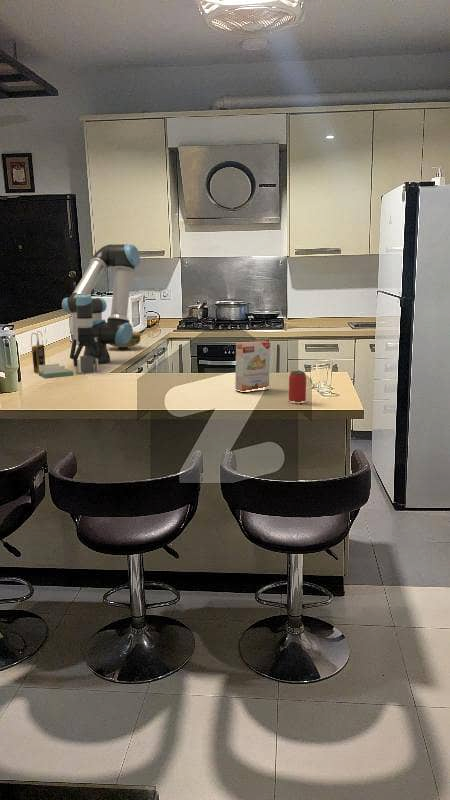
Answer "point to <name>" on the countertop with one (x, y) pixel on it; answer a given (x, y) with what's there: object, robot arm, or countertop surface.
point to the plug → (87, 364)
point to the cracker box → (252, 365)
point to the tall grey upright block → (75, 328)
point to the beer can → (297, 386)
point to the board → (53, 371)
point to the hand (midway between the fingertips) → (87, 371)
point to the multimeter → (38, 355)
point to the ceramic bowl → (132, 342)
